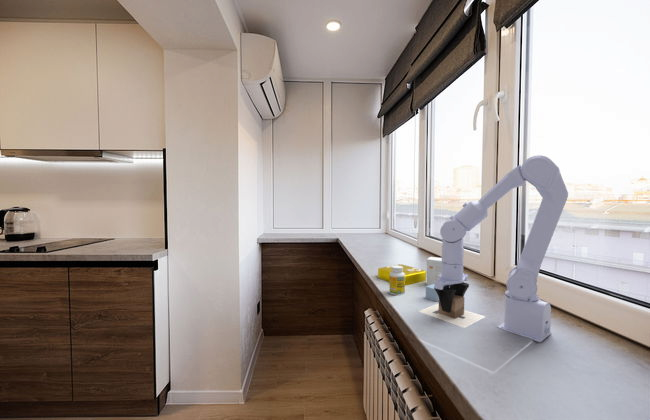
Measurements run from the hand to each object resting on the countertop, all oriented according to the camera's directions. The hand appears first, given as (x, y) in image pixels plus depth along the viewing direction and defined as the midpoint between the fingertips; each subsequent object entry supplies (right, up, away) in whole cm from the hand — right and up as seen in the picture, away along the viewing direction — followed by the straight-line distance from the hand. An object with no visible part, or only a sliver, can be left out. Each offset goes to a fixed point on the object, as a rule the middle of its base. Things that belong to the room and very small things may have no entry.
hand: (451, 309), depth 85 cm
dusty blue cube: (0, -1, +13) cm, 13 cm away
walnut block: (0, -1, 0) cm, 1 cm away
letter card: (0, -2, 0) cm, 2 cm away
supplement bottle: (-11, -1, +19) cm, 22 cm away
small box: (+7, -1, +28) cm, 29 cm away
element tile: (-4, -1, +38) cm, 38 cm away
